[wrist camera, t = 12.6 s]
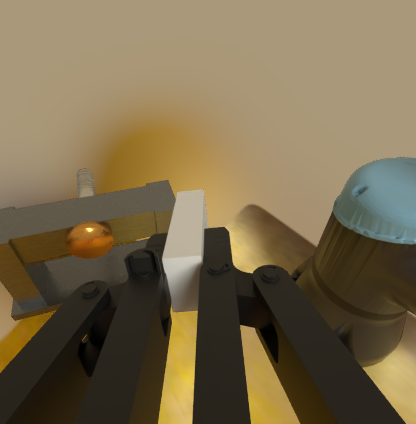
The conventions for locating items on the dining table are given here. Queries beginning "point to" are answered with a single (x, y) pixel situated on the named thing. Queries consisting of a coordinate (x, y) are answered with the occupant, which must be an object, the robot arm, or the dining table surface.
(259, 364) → the dining table surface
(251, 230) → the dining table surface
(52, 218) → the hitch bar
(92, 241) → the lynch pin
